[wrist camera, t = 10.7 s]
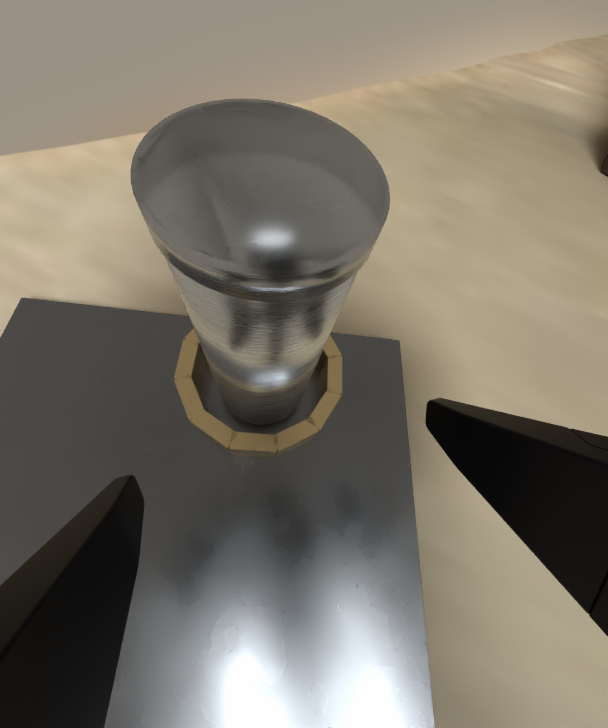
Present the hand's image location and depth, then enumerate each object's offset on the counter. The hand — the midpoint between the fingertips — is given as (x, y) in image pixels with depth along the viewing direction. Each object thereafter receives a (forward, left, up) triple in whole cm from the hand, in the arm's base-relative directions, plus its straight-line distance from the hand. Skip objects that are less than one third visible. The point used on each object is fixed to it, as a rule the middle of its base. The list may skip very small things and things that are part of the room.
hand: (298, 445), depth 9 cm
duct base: (-1, +5, -9) cm, 10 cm away
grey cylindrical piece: (+5, +1, -8) cm, 9 cm away
